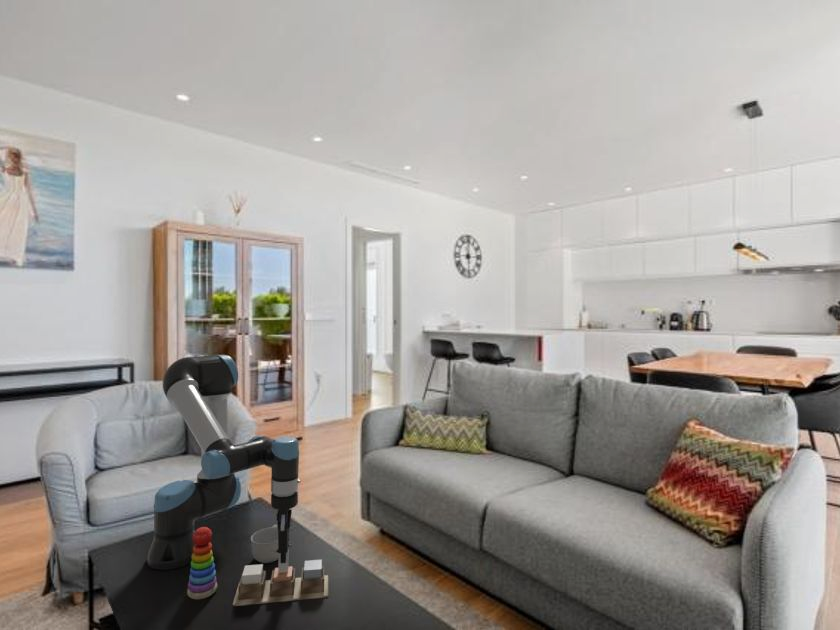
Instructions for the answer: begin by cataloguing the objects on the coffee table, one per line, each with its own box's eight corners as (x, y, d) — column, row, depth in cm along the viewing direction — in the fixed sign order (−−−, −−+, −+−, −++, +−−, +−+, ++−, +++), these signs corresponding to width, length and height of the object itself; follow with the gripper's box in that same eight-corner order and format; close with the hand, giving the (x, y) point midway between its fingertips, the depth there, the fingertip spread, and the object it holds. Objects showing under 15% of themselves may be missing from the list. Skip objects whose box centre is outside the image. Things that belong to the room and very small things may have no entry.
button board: (232, 606, 131) (232, 590, 131) (239, 584, 141) (239, 569, 140) (328, 597, 136) (328, 581, 136) (328, 576, 146) (328, 562, 146)
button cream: (241, 589, 134) (242, 575, 133) (244, 578, 138) (245, 565, 138) (260, 587, 134) (260, 574, 134) (262, 577, 139) (262, 564, 139)
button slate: (303, 583, 137) (304, 570, 137) (304, 573, 142) (304, 560, 142) (321, 582, 138) (321, 568, 138) (321, 572, 143) (321, 559, 143)
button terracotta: (273, 591, 135) (273, 577, 135) (274, 580, 140) (275, 567, 140) (291, 589, 136) (291, 576, 136) (292, 579, 141) (292, 566, 141)
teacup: (274, 569, 149) (275, 544, 148) (243, 564, 151) (244, 540, 150) (295, 547, 162) (295, 524, 162) (266, 542, 164) (266, 520, 164)
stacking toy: (223, 586, 140) (224, 523, 139) (205, 603, 132) (206, 537, 131) (199, 581, 141) (200, 520, 140) (180, 598, 133) (181, 533, 133)
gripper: (296, 500, 131) (295, 583, 132) (299, 482, 144) (297, 557, 145) (268, 502, 130) (267, 585, 131) (273, 483, 143) (272, 559, 144)
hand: (283, 571), depth 138 cm, fingers closed
